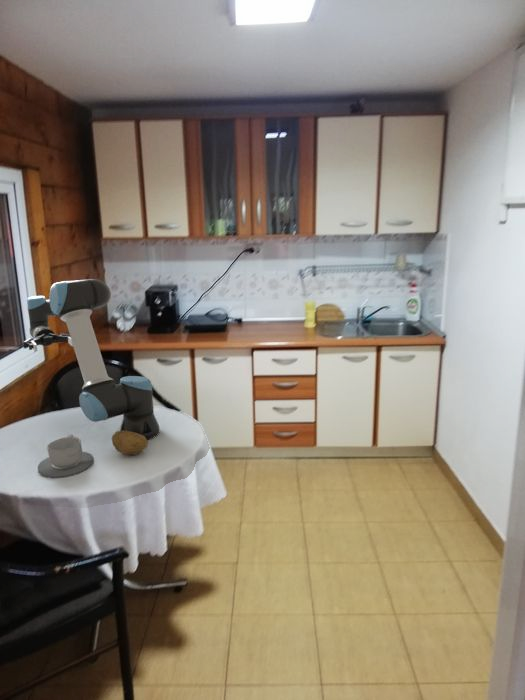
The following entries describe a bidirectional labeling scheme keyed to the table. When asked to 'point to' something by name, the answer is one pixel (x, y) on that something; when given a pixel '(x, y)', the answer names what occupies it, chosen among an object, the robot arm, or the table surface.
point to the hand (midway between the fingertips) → (54, 345)
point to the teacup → (65, 451)
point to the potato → (129, 442)
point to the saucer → (55, 472)
